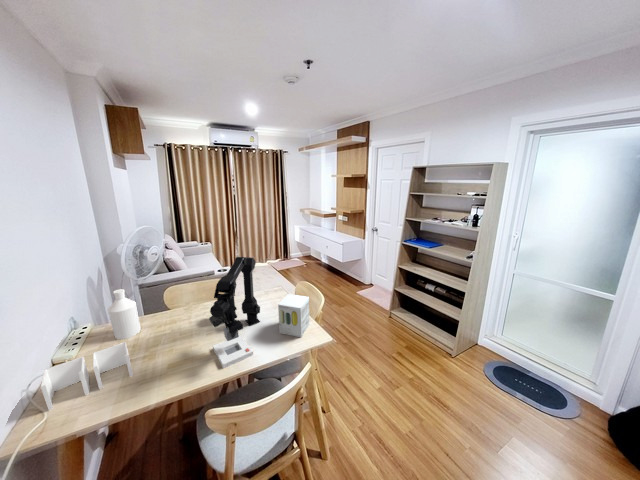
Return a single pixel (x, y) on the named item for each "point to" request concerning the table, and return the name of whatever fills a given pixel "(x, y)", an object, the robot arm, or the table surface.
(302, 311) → the supplement box
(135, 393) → the table surface
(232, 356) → the socket plate
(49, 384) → the white u-channel brackets
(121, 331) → the bottle
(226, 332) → the plug
